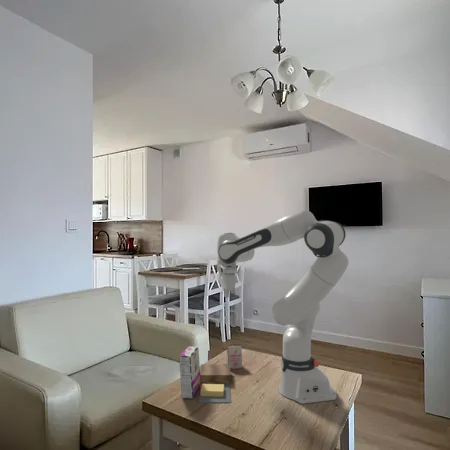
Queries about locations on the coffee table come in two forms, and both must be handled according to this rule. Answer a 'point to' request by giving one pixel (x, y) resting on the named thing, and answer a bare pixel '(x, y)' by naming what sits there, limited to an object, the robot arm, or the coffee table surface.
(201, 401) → the mat
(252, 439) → the coffee table surface
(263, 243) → the robot arm
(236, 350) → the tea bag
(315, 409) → the coffee table surface
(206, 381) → the deck
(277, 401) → the coffee table surface
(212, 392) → the pale yellow rectangular block
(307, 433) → the coffee table surface
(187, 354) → the candy bar box
